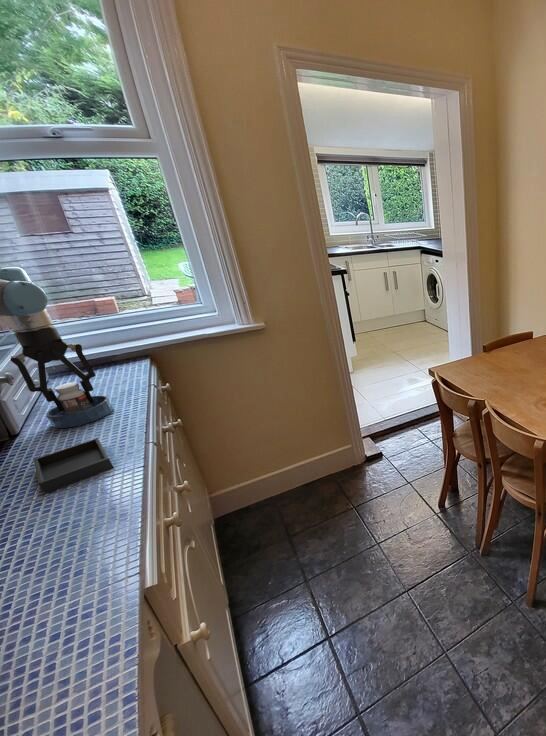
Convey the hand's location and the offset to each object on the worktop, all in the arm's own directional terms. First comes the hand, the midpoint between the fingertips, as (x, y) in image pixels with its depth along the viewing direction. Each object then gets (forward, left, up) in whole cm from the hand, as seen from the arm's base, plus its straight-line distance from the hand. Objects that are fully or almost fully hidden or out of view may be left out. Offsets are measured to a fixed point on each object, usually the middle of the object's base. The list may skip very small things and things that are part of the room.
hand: (77, 405), depth 118 cm
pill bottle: (0, 0, -4) cm, 4 cm away
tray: (+21, -28, -4) cm, 35 cm away
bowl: (0, 0, -4) cm, 4 cm away
